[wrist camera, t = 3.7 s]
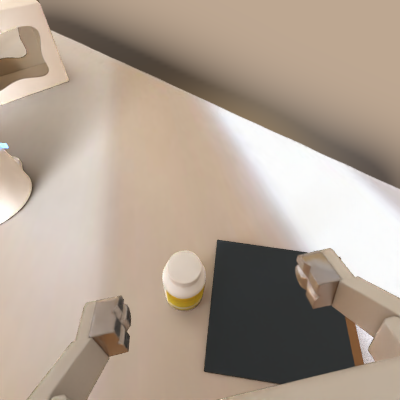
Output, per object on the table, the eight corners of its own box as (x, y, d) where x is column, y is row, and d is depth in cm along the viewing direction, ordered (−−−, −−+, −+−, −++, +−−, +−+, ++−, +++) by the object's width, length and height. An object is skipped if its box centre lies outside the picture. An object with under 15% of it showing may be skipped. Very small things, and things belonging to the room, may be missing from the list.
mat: (204, 371, 30) (204, 371, 30) (217, 240, 41) (217, 239, 41) (369, 398, 30) (371, 398, 29) (339, 257, 40) (340, 257, 40)
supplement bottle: (209, 301, 35) (216, 278, 27) (173, 319, 34) (170, 299, 26) (193, 268, 38) (196, 238, 30) (160, 282, 37) (153, 254, 29)
